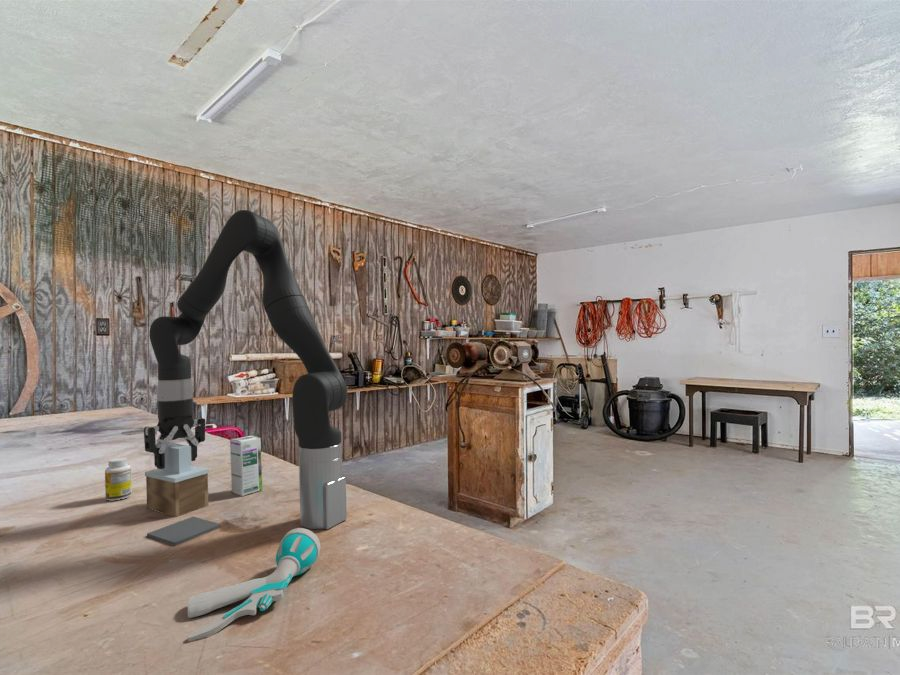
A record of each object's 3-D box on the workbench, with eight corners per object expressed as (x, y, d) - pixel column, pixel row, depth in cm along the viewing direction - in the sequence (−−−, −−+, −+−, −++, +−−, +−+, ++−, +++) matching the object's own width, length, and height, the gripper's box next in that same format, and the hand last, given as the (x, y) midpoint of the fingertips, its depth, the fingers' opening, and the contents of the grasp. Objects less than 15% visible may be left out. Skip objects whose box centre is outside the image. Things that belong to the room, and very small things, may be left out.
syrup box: (242, 496, 118) (240, 441, 118) (230, 492, 122) (229, 438, 122) (262, 490, 123) (261, 437, 123) (251, 486, 126) (249, 434, 126)
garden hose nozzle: (177, 619, 61) (329, 571, 68) (194, 551, 77) (315, 518, 84) (186, 667, 62) (334, 614, 69) (201, 590, 78) (320, 554, 85)
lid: (208, 476, 113) (208, 444, 113) (174, 486, 105) (174, 452, 105) (179, 470, 119) (178, 440, 119) (144, 479, 111) (144, 447, 111)
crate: (208, 505, 113) (207, 473, 113) (175, 516, 106) (175, 482, 106) (179, 497, 118) (178, 467, 118) (146, 508, 111) (146, 475, 111)
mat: (221, 526, 99) (221, 524, 99) (175, 545, 91) (175, 542, 91) (193, 518, 104) (193, 516, 104) (146, 536, 95) (146, 533, 95)
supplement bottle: (109, 496, 121) (108, 458, 121) (134, 493, 123) (133, 455, 123) (102, 503, 116) (101, 463, 116) (128, 499, 118) (127, 460, 118)
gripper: (153, 402, 104) (155, 474, 104) (212, 394, 117) (213, 459, 117) (135, 400, 107) (136, 470, 108) (194, 393, 120) (195, 455, 120)
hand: (176, 464), depth 112 cm, fingers open, 7 cm apart
